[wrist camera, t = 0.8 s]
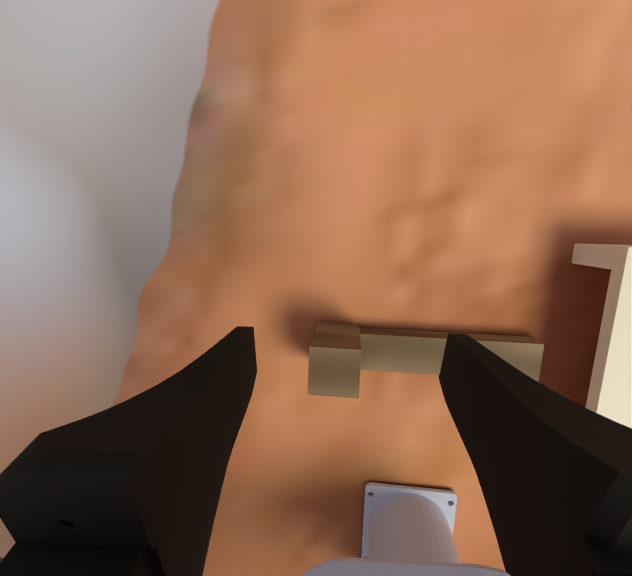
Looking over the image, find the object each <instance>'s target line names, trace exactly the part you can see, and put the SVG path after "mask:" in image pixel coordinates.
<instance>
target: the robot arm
mask: <svg viewBox="0 0 632 576" xmlns="http://www.w3.org/2000/svg"><path fill="white" fill-rule="evenodd" d="M256 373H257V365H256V352H255V340H254V328H253V327H239V326H237V327H236V328H235V329H233V330H232V331H231V332H230V333H229V334H227V335H226V336H225V337H224V338H223V339H221V340H220V341H219V342H218V343H217V344H215V345H214V346H213V347H212V348H210V349H209V350H208V351H207V352H205V353H204V354H203V355H201V356H200V357H199V358H197V359H196V360H195V361H193V362H192V363H190V364H189V365H188V366H186V367H185V368H184V369H182V370H181V371H179V372H178V373H176V374H174V375H173V376H171V377H170V378H168V379H166V380H165V381H163V382H161V383H159V384H158V385H156V386H154V387H152V388H150V389H148V390H146V391H145V392H143V393H141V394H139V395H137V396H135V397H133V398H131V399H129V400H127V401H125V402H122V403H120V404H118V405H116V406H113V407H111V408H109V409H107V410H104V411H102V412H99V413H97V414H94V415H92V416H89V417H86V418H84V419H81V420H78V421H75V422H72V423H70V424H67V425H64V426H61V427H58V428H55V429H52V430H49V431H46V432H43V433H40V434H39V435H38V436H37V437H36V438H35V439H34V441H32V442H31V443H30V444H29V446H27V447H26V448H25V449H24V450H23V452H22V453H20V455H19V456H18V457H17V458H16V459H15V460H14V461H13V462H12V463H11V464H10V465H9V466H8V467H7V468H6V469H5V470H4V471H3V472H2V473H1V474H0V518H1V520H2V521H3V523H4V524H5V526H6V528H7V529H8V531H9V532H10V534H11V535H12V537H13V539H14V540H15V542H16V543H15V544H14V546H13V547H12V548H11V549H10V551H9V552H8V553H7V555H6V556H5V557H4V559H3V558H2V557H0V576H202V575H203V570H204V565H205V560H206V555H207V550H208V546H209V541H210V537H211V532H212V527H213V523H214V518H215V514H216V510H217V506H218V502H219V497H220V493H221V489H222V485H223V481H224V477H225V473H226V469H227V465H228V461H229V458H230V455H231V452H232V448H233V446H234V443H235V440H236V437H237V435H238V432H239V429H240V426H241V424H242V421H243V418H244V415H245V413H246V410H247V407H248V404H249V401H250V399H251V396H252V392H253V387H254V383H255V378H256ZM439 380H440V384H441V388H442V391H443V395H444V398H445V401H446V404H447V406H448V409H449V411H450V413H451V416H452V418H453V420H454V423H455V425H456V427H457V429H458V432H459V434H460V436H461V438H462V440H463V443H464V445H465V447H466V449H467V452H468V454H469V456H470V458H471V461H472V463H473V466H474V468H475V471H476V474H477V477H478V480H479V483H480V486H481V489H482V492H483V495H484V498H485V501H486V504H487V508H488V511H489V514H490V518H491V521H492V524H493V527H494V531H495V534H496V538H497V541H498V545H499V549H500V552H501V556H502V559H503V563H504V567H505V570H506V572H505V571H503V570H501V569H496V568H492V567H487V566H483V565H478V564H462V563H461V561H460V558H459V555H458V552H457V549H456V545H455V542H454V539H453V529H454V520H455V512H456V503H457V496H456V494H455V492H454V491H451V490H441V489H432V488H422V487H412V486H403V485H393V484H383V483H374V482H369V483H367V484H366V486H365V500H364V517H363V535H362V552H361V558H356V557H350V558H339V559H329V560H325V561H323V562H321V563H319V564H317V565H315V566H313V567H311V568H309V569H308V570H307V571H306V572H305V573H303V575H302V576H632V428H629V427H627V426H625V425H622V424H620V423H617V422H615V421H613V420H611V419H609V418H606V417H604V416H602V415H600V414H598V413H596V412H593V411H591V410H589V409H587V408H585V407H583V406H581V405H579V404H577V403H575V402H573V401H571V400H569V399H567V398H566V397H564V396H562V395H560V394H558V393H556V392H554V391H553V390H551V389H549V388H547V387H546V386H544V385H542V384H541V383H539V382H537V381H536V380H534V379H532V378H531V377H529V376H528V375H526V374H524V373H523V372H521V371H520V370H518V369H517V368H515V367H514V366H512V365H511V364H509V363H508V362H506V361H505V360H503V359H502V358H500V357H499V356H498V355H496V354H495V353H493V352H492V351H490V350H489V349H488V348H486V347H485V346H483V345H482V344H480V343H479V342H477V341H476V340H474V339H473V338H471V337H470V336H468V335H466V334H459V333H448V336H447V341H446V346H445V350H444V355H443V360H442V365H441V370H440V374H439ZM369 492H372V494H369ZM449 501H452V502H449Z"/></svg>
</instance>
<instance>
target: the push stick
mask: <svg viewBox="0 0 632 576" xmlns="http://www.w3.org/2000/svg"><path fill="white" fill-rule="evenodd" d="M448 333H455V332H437V331H419V330H401V329H383V328H364V327H360V326H359V324H343V323H325V322H318V324H317V327H316V329H315V332H314V335H313V337H312V340H311V343H310V345H309V372H308V394H309V395H322V396H335V397H348V398H359V381H360V370H374V371H389V372H404V373H418V374H433V375H439V374H440V370H441V365H442V360H443V355H444V350H445V346H446V341H447V336H448ZM459 334H466V335H468V336H470V337H471V338H473V339H474V340H476V341H477V342H479V343H480V344H482V345H483V346H485V347H486V348H488V349H489V350H490V351H492V352H493V353H495V354H496V355H498V356H499V357H500V358H502V359H503V360H505V361H506V362H508V363H509V364H511V365H512V366H514V367H515V368H517V369H518V370H520V371H521V372H523V373H524V374H526V375H528V376H529V377H531V378H532V379H534V380H536V381H537V382H539V376H540V370H541V363H542V357H543V351H544V344H543V343H541V342H540V341H538V340H536V339H535V338H533V337H528V336H510V335H492V334H474V333H459Z"/></svg>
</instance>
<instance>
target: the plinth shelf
mask: <svg viewBox="0 0 632 576" xmlns="http://www.w3.org/2000/svg"><path fill="white" fill-rule="evenodd" d="M571 263H574V264H580V265H586V266H592V267H598V268H605V269H611V274H610V280H609V285H608V290H607V296H606V301H605V306H604V312H603V317H602V323H601V328H600V333H599V339H598V344H597V349H596V355H595V360H594V365H593V371H592V376H591V381H590V387H589V392H588V397H587V403H586V408H587V409H589V410H591V411H593V412H596V413H598V414H600V415H602V416H604V417H606V418H609V419H611V420H613V421H615V422H617V423H620V424H622V425H625V426H627V427H629V428H632V245H620V244H582V243H574V249H573V255H572V261H571Z"/></svg>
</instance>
